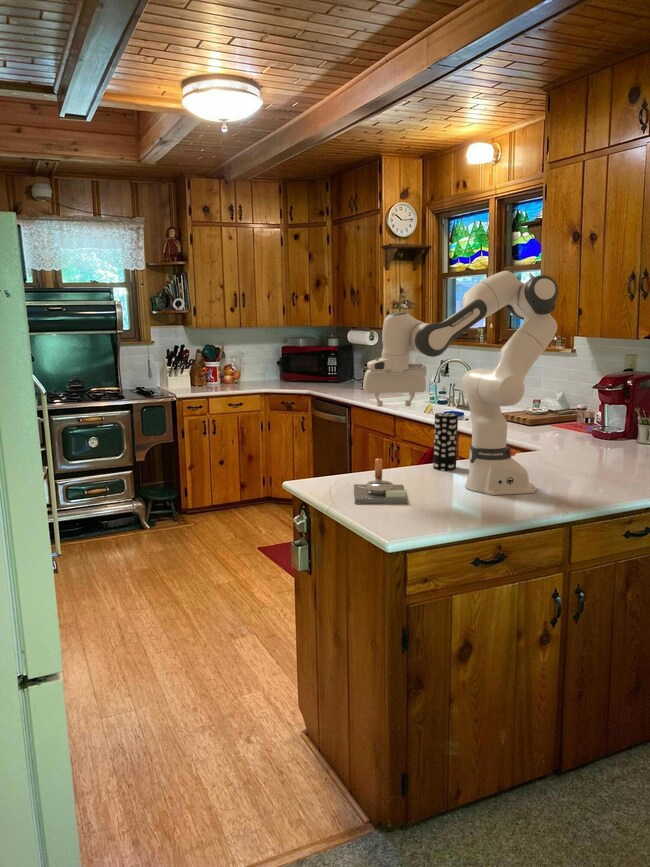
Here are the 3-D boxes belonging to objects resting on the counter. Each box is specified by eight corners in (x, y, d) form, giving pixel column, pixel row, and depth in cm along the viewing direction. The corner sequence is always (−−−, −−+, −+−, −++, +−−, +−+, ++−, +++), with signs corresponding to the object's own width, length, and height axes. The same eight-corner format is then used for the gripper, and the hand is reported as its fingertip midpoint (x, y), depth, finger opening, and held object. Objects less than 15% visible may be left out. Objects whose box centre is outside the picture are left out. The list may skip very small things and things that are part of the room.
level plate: (402, 489, 229) (402, 479, 228) (407, 504, 212) (407, 493, 212) (353, 488, 229) (353, 479, 229) (354, 503, 213) (355, 493, 212)
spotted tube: (431, 469, 255) (433, 415, 251) (435, 464, 263) (437, 412, 259) (454, 471, 252) (456, 417, 249) (457, 466, 260) (459, 413, 256)
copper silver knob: (390, 483, 229) (390, 458, 228) (393, 494, 216) (393, 468, 215) (366, 483, 230) (366, 458, 228) (367, 494, 217) (367, 468, 215)
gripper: (423, 362, 228) (422, 404, 231) (362, 362, 225) (361, 405, 228) (429, 364, 222) (427, 407, 225) (366, 364, 219) (365, 408, 222)
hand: (393, 406), depth 226 cm, fingers open, 8 cm apart
